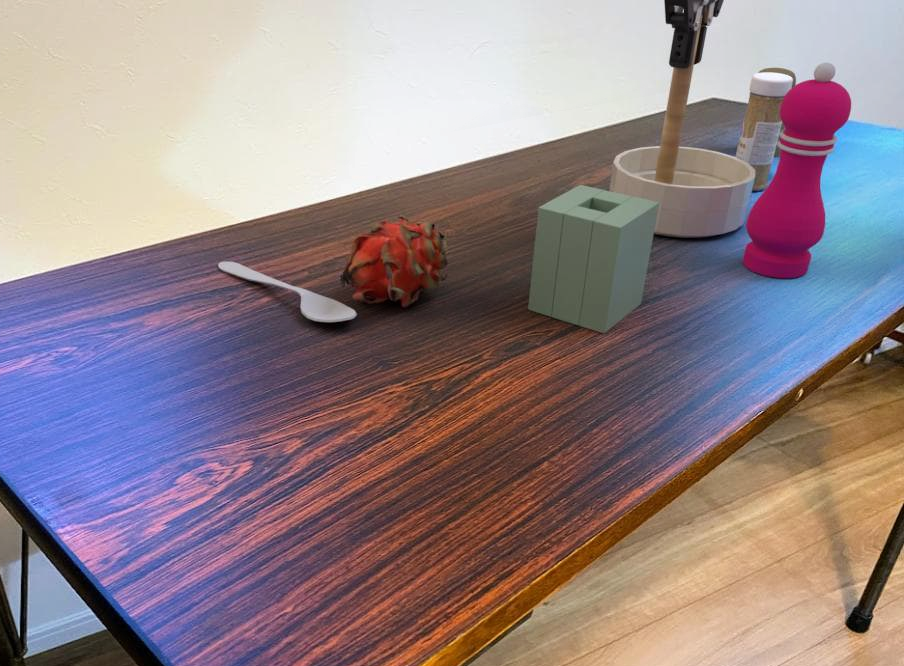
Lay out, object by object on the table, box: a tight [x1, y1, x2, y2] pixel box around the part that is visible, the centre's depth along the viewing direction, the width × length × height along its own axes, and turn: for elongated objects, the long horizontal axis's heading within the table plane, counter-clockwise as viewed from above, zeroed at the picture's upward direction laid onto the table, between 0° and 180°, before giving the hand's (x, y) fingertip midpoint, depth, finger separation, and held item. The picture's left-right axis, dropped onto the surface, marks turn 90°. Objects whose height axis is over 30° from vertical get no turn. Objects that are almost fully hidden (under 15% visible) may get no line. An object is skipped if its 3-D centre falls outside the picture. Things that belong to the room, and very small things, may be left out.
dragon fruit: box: [339, 214, 449, 308], centre depth 85 cm, size 8×8×12 cm
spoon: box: [217, 261, 358, 323], centre depth 87 cm, size 4×21×2 cm, turn 42°
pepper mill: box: [742, 62, 852, 279], centre depth 88 cm, size 7×7×20 cm
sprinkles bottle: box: [735, 72, 793, 192], centre depth 111 cm, size 5×5×13 cm
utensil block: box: [527, 184, 659, 334], centre depth 82 cm, size 8×8×10 cm
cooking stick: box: [654, 14, 703, 184], centre depth 99 cm, size 2×2×20 cm
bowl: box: [608, 145, 755, 239], centre depth 104 cm, size 15×15×6 cm
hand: (684, 64), depth 96 cm, fingers closed on cooking stick, 2 cm apart
